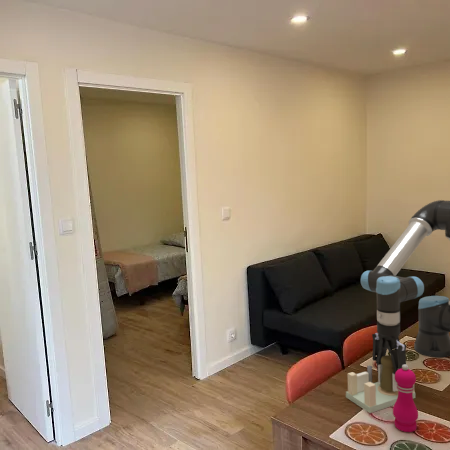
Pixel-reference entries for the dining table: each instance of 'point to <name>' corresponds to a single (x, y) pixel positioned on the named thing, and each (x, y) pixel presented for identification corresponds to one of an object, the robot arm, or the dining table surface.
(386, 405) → the stand
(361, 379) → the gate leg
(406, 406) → the pepper mill
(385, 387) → the pepper shaker
